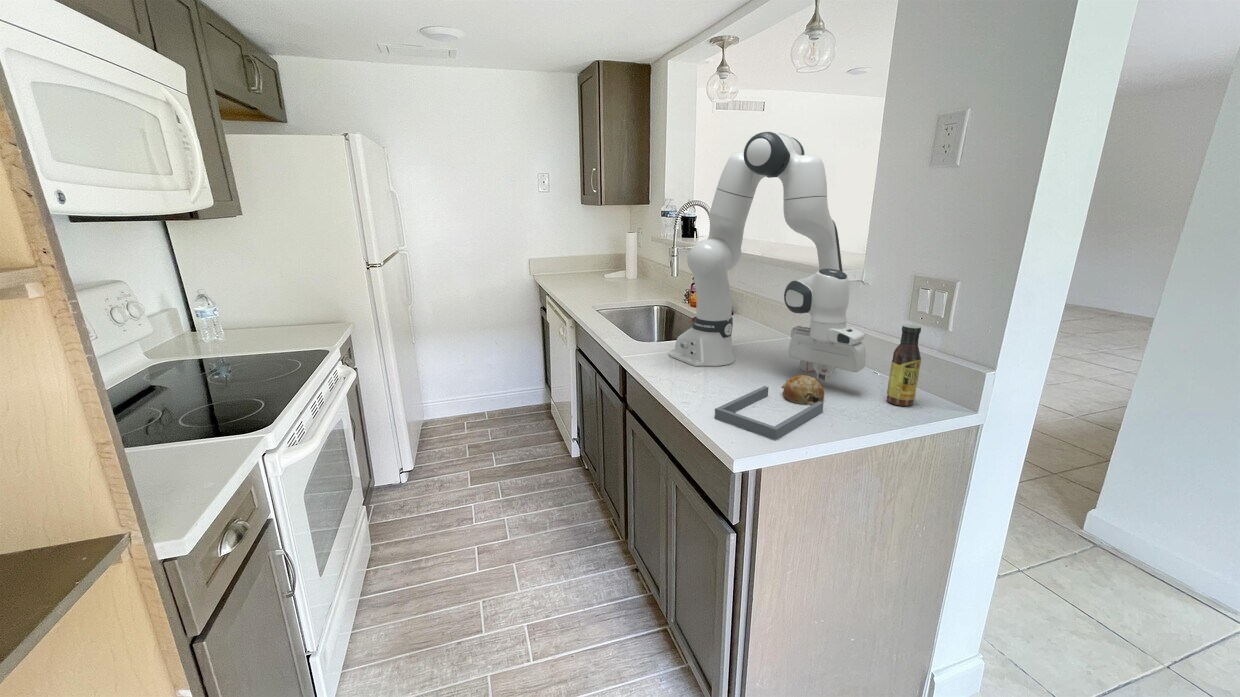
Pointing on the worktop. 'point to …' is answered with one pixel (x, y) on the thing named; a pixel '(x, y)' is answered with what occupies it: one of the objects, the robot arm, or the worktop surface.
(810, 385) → the bread roll
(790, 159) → the robot arm
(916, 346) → the sauce bottle
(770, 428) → the slate bay
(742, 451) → the worktop surface
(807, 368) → the ivan chai tea box
